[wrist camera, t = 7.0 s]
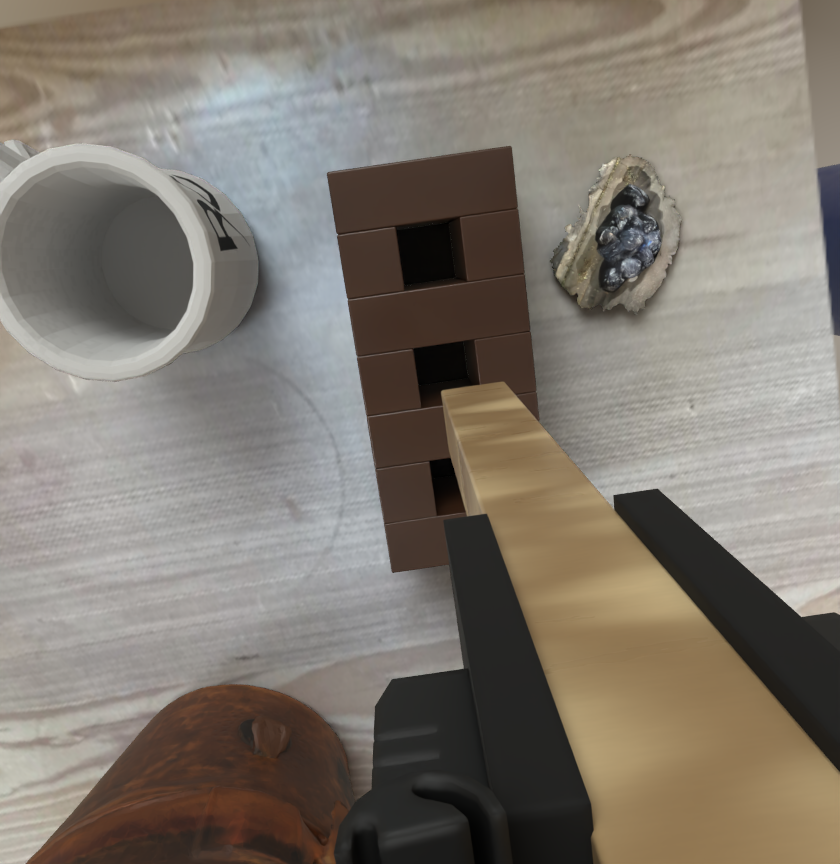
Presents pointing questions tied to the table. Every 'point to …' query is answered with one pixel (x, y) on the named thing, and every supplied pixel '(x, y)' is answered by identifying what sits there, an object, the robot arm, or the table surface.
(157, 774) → the case
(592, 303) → the mineral rock specimen
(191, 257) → the mug
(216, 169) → the table surface
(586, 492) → the stick
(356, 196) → the holder
